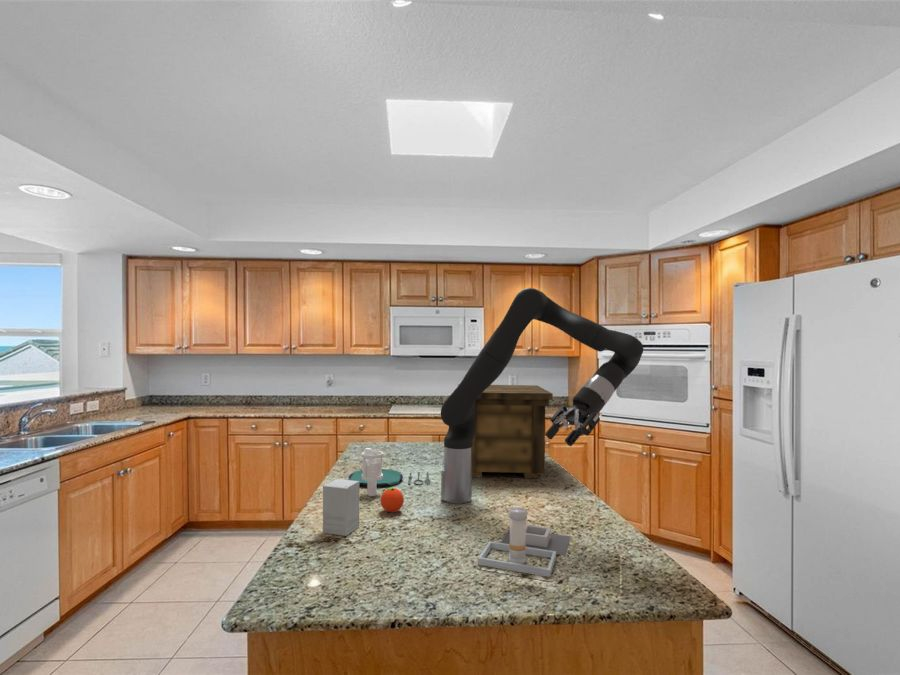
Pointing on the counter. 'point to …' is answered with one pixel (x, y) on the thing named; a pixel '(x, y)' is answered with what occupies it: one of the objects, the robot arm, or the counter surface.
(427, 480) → the cutlery set
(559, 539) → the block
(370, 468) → the drinking glass
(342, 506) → the supplement box
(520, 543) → the white bottle
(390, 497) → the clementine
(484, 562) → the tray
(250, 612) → the counter surface
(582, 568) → the counter surface
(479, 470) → the crate
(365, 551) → the counter surface
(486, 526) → the counter surface
